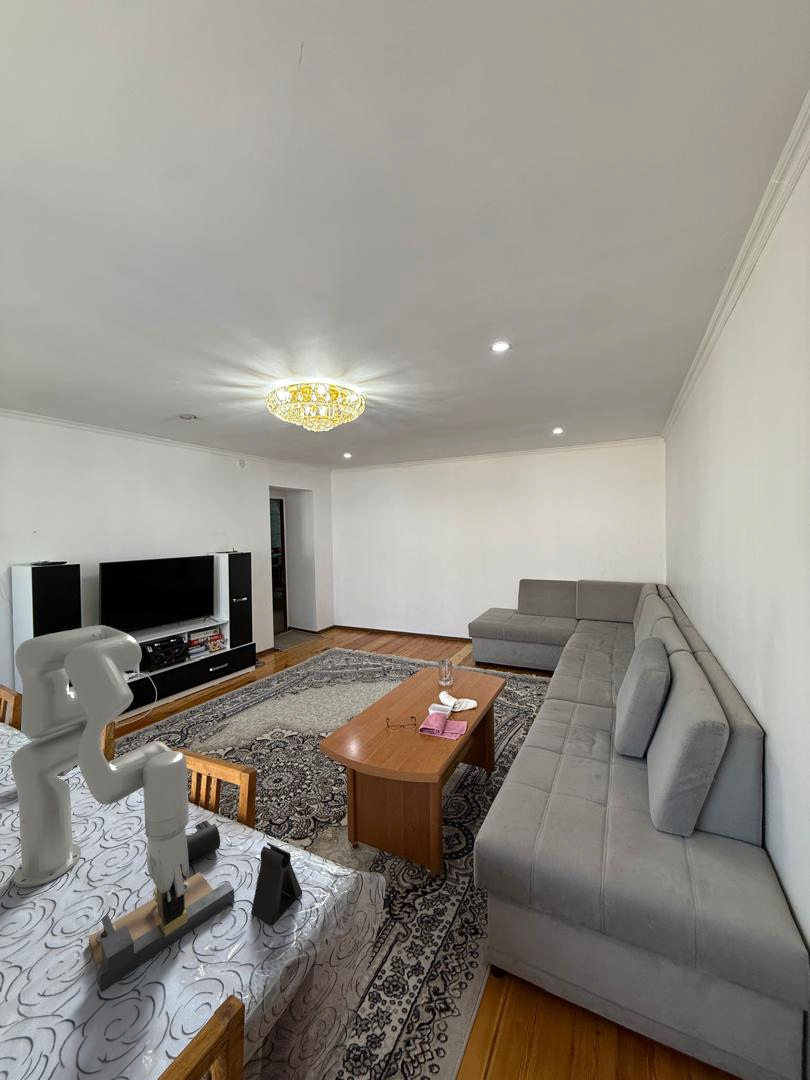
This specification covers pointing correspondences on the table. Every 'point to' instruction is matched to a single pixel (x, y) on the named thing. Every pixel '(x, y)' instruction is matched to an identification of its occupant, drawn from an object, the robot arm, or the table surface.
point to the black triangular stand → (275, 885)
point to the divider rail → (152, 938)
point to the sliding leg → (160, 913)
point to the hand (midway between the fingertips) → (171, 909)
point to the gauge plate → (149, 915)
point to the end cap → (202, 841)
